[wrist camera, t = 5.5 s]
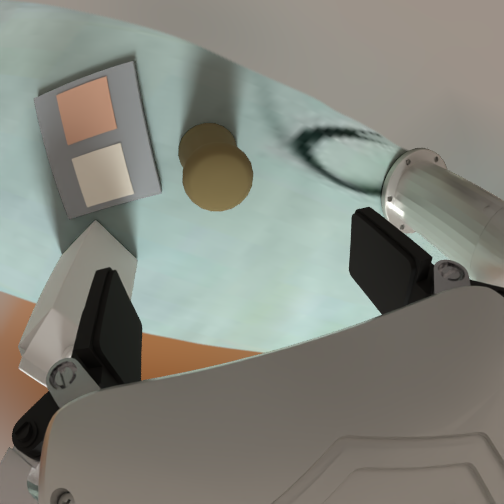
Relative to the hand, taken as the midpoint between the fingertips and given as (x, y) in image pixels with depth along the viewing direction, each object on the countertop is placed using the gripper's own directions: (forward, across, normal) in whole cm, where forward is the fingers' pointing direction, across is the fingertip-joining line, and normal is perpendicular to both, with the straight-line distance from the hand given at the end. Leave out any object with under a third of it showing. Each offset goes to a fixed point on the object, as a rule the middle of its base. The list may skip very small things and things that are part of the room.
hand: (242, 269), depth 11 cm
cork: (+22, -1, 0) cm, 22 cm away
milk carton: (+22, +14, +9) cm, 28 cm away
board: (+22, +10, -4) cm, 24 cm away
